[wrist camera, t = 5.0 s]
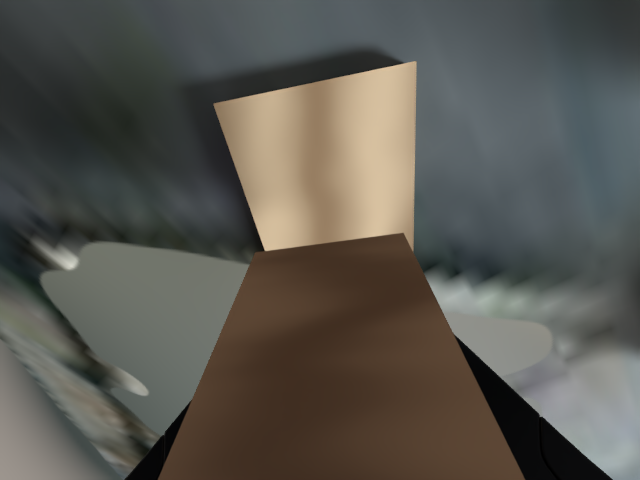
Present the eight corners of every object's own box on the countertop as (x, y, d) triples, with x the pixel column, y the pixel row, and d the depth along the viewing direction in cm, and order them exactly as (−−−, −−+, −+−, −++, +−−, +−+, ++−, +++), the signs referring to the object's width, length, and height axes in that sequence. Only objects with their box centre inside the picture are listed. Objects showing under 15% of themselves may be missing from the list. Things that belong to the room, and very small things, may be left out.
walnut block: (403, 232, 8) (525, 480, 3) (404, 333, 11) (471, 558, 6) (254, 252, 9) (153, 488, 4) (289, 343, 11) (258, 555, 6)
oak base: (405, 63, 13) (416, 60, 12) (405, 269, 21) (412, 286, 19) (226, 101, 15) (213, 103, 13) (286, 284, 22) (282, 301, 20)
